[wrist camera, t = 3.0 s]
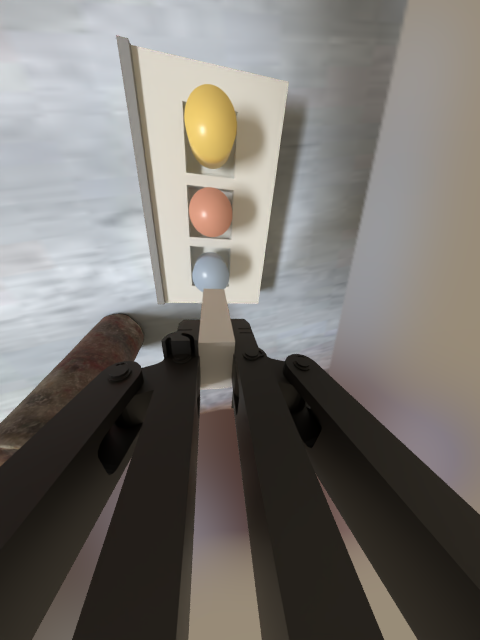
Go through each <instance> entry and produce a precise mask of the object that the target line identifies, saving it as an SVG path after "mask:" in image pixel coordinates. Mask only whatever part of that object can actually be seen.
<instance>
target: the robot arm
mask: <svg viewBox="0 0 480 640" xmlns="http://www.w3.org/2000/svg"><path fill="white" fill-rule="evenodd" d="M162 348H163V354H164V360H163V361H162V362H160V363H158V364H155V365H152V366H148V367H144V368H141V366H140V365H139V364H138V363H137V362H133V361H123V362H118V363H115V364H113V365H111V366H108V367H107V368H106V369H104V370H103V371H102V372H101V373H100V374H98V375H97V376H96V377H95V378H94V379H93V380H92V381H91V382H90V383H89V384H88V385H87V386H86V387H85V388H84V389H82V390H81V391H80V392H79V393H78V394H77V395H76V396H75V397H74V398H73V399H72V400H71V401H70V402H69V403H68V404H66V405H65V406H64V407H63V408H62V409H61V410H60V411H59V412H58V413H57V414H56V415H55V416H54V417H53V418H52V419H50V420H49V421H48V422H47V423H46V424H45V425H44V426H43V427H42V428H41V429H40V430H39V431H38V432H37V433H36V434H34V435H33V436H32V437H31V438H30V439H29V440H28V441H27V442H26V443H25V444H24V445H23V446H22V447H21V448H20V449H18V450H17V451H16V452H15V453H14V454H13V455H12V456H11V457H10V458H9V459H8V460H7V461H6V462H5V463H4V464H2V465H1V466H0V640H32V638H33V637H34V635H35V633H36V631H37V629H38V627H39V625H40V623H41V622H42V620H43V618H44V616H45V615H46V613H47V611H48V609H49V607H50V605H51V604H52V602H53V600H54V598H55V596H56V594H57V593H58V591H59V589H60V587H61V585H62V583H63V582H64V580H65V578H66V576H67V574H68V572H69V571H70V569H71V567H72V565H73V563H74V561H75V560H76V558H77V556H78V554H79V552H80V550H81V549H82V547H83V545H84V543H85V541H86V539H87V538H88V536H89V534H90V532H91V530H92V528H93V527H94V525H95V523H96V521H97V519H98V517H99V516H100V514H101V512H102V510H103V508H104V507H105V505H106V503H107V501H108V499H109V497H110V495H111V494H112V492H113V490H114V488H115V486H116V484H117V482H118V481H119V479H120V477H121V475H122V474H123V472H124V470H125V468H126V466H127V464H128V463H129V461H130V459H131V461H130V464H129V467H128V470H127V473H126V477H125V480H124V483H123V486H122V489H121V492H120V495H119V498H118V501H117V504H116V507H115V510H114V514H113V516H112V519H111V522H110V525H109V529H108V532H107V535H106V538H105V541H104V544H103V547H102V550H101V553H100V556H99V559H98V562H97V565H96V568H95V571H94V574H93V577H92V580H91V584H90V587H89V590H88V593H87V596H86V599H85V602H84V605H83V608H82V611H81V614H80V617H79V620H78V623H77V626H76V630H75V633H74V636H73V639H72V640H188V633H189V613H190V594H191V574H192V554H193V534H194V515H195V494H196V475H197V456H198V435H199V417H200V390H203V389H219V388H232V386H233V396H232V408H234V414H235V422H236V431H237V440H238V448H239V455H240V464H241V472H242V480H243V489H244V496H245V505H246V513H247V521H248V529H249V537H250V546H251V554H252V562H253V570H254V579H255V587H256V595H257V603H258V611H259V619H260V627H261V636H262V640H384V638H383V636H382V633H381V631H380V629H379V626H378V624H377V621H376V619H375V616H374V614H373V612H372V609H371V607H370V604H369V602H368V600H367V597H366V595H365V592H364V590H363V588H362V585H361V583H360V580H359V578H358V575H357V573H356V571H355V568H354V566H353V563H352V561H351V558H350V556H349V554H348V551H347V549H346V546H345V544H344V541H343V539H342V537H341V534H340V532H339V529H338V527H337V525H336V522H335V520H334V517H333V515H332V512H331V510H330V508H329V505H328V503H327V500H326V498H325V495H324V493H323V491H322V488H321V486H320V483H319V481H318V479H317V476H318V478H319V480H320V481H321V483H322V485H323V486H324V488H325V489H326V491H327V493H328V494H329V496H330V498H331V499H332V501H333V503H334V504H335V506H336V507H337V509H338V510H339V512H340V514H341V516H342V517H343V519H344V520H345V522H346V524H347V525H348V527H349V529H350V530H351V532H352V533H353V535H354V537H355V538H356V540H357V542H358V543H359V545H360V546H361V548H362V550H363V551H364V553H365V554H366V556H367V558H368V560H369V561H370V563H371V564H372V566H373V568H374V569H375V571H376V572H377V574H378V576H379V577H380V579H381V581H382V582H383V584H384V585H385V587H386V588H387V590H388V592H389V594H390V595H391V597H392V599H393V600H394V602H395V603H396V605H397V607H398V608H399V610H400V611H401V613H402V615H403V616H404V618H405V619H406V621H407V623H408V625H409V626H410V628H411V629H412V631H413V633H414V634H415V636H416V637H417V639H418V640H480V515H479V514H478V513H477V512H476V511H475V510H474V509H473V508H472V507H471V506H470V505H469V504H467V502H465V501H464V500H463V499H462V498H461V497H460V496H459V495H458V494H457V493H456V492H455V491H454V490H452V489H451V488H450V487H449V486H448V485H447V484H446V483H445V482H444V481H443V480H442V479H441V478H439V477H438V476H437V475H436V474H435V473H434V472H433V471H432V470H431V469H430V468H429V467H428V466H427V465H426V464H424V463H423V462H422V461H421V460H420V459H419V458H418V457H417V456H416V455H415V454H414V453H413V452H412V451H410V450H409V449H408V448H407V447H406V446H405V445H404V444H403V443H402V442H401V441H400V440H398V439H397V438H396V437H395V436H394V435H393V434H392V433H391V432H390V431H389V430H388V429H387V428H385V426H384V425H382V424H381V423H380V422H379V421H378V420H377V419H376V418H375V417H374V416H373V415H372V414H371V413H370V412H368V411H367V410H366V409H365V408H364V407H363V406H362V405H361V404H360V403H359V402H358V401H356V399H354V398H353V397H352V396H351V395H350V394H349V393H348V392H347V391H346V390H345V389H344V388H342V386H340V385H339V384H338V383H337V382H336V381H335V380H334V379H333V378H332V377H331V376H330V375H329V374H327V373H326V372H325V371H324V370H323V369H322V368H321V367H320V366H319V365H318V364H317V363H316V362H315V361H313V360H312V359H310V358H309V357H306V356H304V355H300V354H292V355H290V356H288V357H287V358H286V360H285V361H280V360H275V359H271V358H269V357H267V355H266V353H265V352H264V351H263V350H262V349H260V348H258V345H257V343H256V340H255V338H254V335H253V332H252V330H251V327H250V324H249V323H248V322H247V321H246V320H245V319H230V314H229V309H228V305H227V300H226V295H225V290H224V289H203V299H202V309H201V319H200V320H183V321H182V322H181V323H180V324H179V327H178V331H177V332H174V333H171V334H169V335H167V336H166V337H164V338H163V340H162ZM131 457H132V458H131ZM315 473H316V474H315ZM316 475H317V476H316Z"/></svg>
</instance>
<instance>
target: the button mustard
mask: <svg viewBox="0 0 480 640" xmlns="http://www.w3.org/2000/svg"><path fill="white" fill-rule="evenodd" d="M184 120H185V127H186V131H187V135H188V139H189V143H190V147H191V150H192V153H193V155H194V157H195V158H196V160H197V161H198V162H199V163H200V164H201V165H202V166H204V167H206V168H209V169H217V168H220V167H221V166H223V165H224V164H225V163H226V162H227V160H228V158H229V156H230V153H231V150H232V147H233V144H234V140H235V137H236V132H237V119H236V113H235V110H234V107H233V104H232V102H231V100H230V99H229V97H228V96H227V95H226V93H225V92H224V91H223V90H221V89H220V88H219V87H217V86H215V85H212V84H203V85H200V86H198V87H197V88H195V89H194V90H193V91H192V92H191V94H190V95H189V97H188V99H187V102H186V106H185V112H184Z"/></svg>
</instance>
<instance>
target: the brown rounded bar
mask: <svg viewBox="0 0 480 640" xmlns="http://www.w3.org/2000/svg"><path fill="white" fill-rule="evenodd" d="M143 339H144V335H143V332H142V329H141V327H140V326H139V325H138V324H137V323H136V322H135V321H134V320H132V319H131V318H130V317H129V316H127V315H124V314H113V315H109V316H106V317H104V318H103V319H102V320H101V321H100V322H99V323H98V324H97V325H96V326H95V327H94V328H93V329H92V330H91V331H90V332H89V333H88V334H87V335H86V336H85V337H84V338H83V339H82V340H81V341H80V342H79V343H78V344H77V345H76V346H75V347H74V349H73V350H72V351H71V352H70V353H69V354H68V355H67V356H66V357H65V358H64V359H63V360H62V361H61V362H60V363H59V364H58V365H57V366H56V367H55V368H54V369H53V370H52V371H51V372H50V373H49V374H48V375H47V376H46V377H45V378H44V379H43V380H42V381H41V382H40V384H39V385H38V386H37V387H36V388H35V389H34V390H33V391H32V392H31V393H30V394H29V395H28V396H27V397H26V398H25V399H24V400H23V401H22V402H21V403H20V404H19V405H18V406H17V407H16V408H15V409H14V410H13V411H12V412H11V413H10V414H9V415H8V416H7V417H6V418H5V419H4V420H3V421H2V422H1V423H0V466H1V465H2V464H4V463H5V462H6V461H7V460H8V459H9V458H10V457H11V456H12V455H13V454H14V453H15V452H16V451H17V450H18V449H20V448H21V447H22V446H23V445H24V444H25V443H26V442H27V441H28V440H29V439H30V438H31V437H32V436H33V435H34V434H36V433H37V432H38V431H39V430H40V429H41V428H42V427H43V426H44V425H45V424H46V423H47V422H48V421H49V420H50V419H52V418H53V417H54V416H55V415H56V414H57V413H58V412H59V411H60V410H61V409H62V408H63V407H64V406H65V405H66V404H68V403H69V402H70V401H71V400H72V399H73V398H74V397H75V396H76V395H77V394H78V393H79V392H80V391H81V390H82V389H84V388H85V387H86V386H87V385H88V384H89V383H90V382H91V381H92V380H93V379H94V378H95V377H96V376H97V375H98V374H100V373H101V372H102V371H103V370H104V369H106V368H107V367H108V366H111V365H113V364H115V363H118V362H123V361H133V362H134V360H135V358H136V356H137V354H138V352H139V350H140V348H141V346H142V344H143Z"/></svg>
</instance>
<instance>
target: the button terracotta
mask: <svg viewBox="0 0 480 640" xmlns="http://www.w3.org/2000/svg"><path fill="white" fill-rule="evenodd" d="M189 215H190V219H191V222H192V224H193V226H194V227H195V228H196V230H197V231H198V232H200V233H201V234H203V235H205V236H208V237H217V236H220V235H222V234H224V233H225V232H226V231H227V230H228V228H229V226H230V224H231V222H232V207H231V204H230V201H229V199H228V198H227V196H226V195H225V194H224V193H223V192H221V191H220V190H218V189H216V188H212V187H205V188H202V189H200V190H198V191H197V192H196V193H195V194H194V195H193V197H192V199H191V201H190V205H189Z"/></svg>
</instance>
